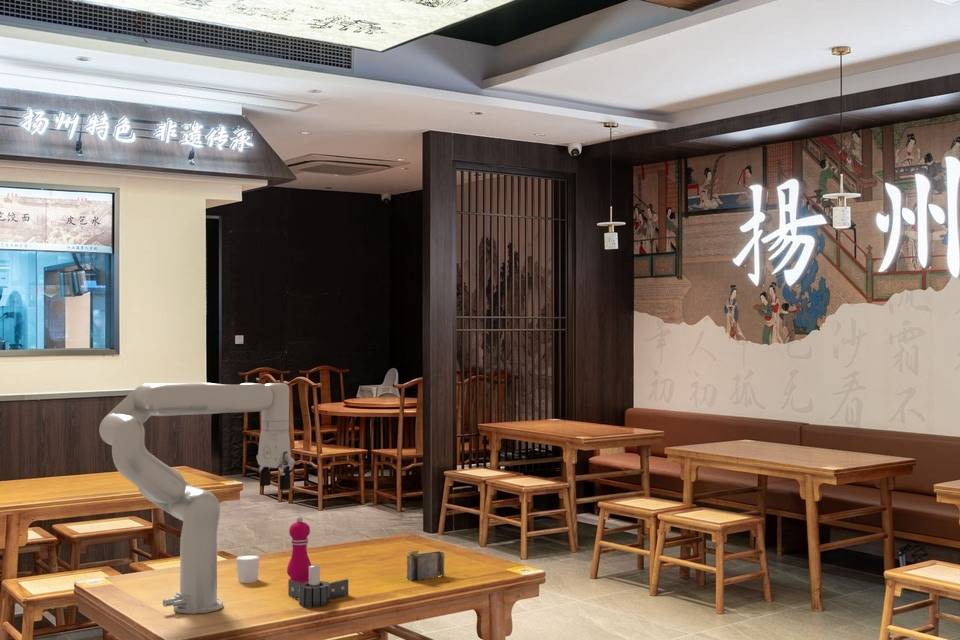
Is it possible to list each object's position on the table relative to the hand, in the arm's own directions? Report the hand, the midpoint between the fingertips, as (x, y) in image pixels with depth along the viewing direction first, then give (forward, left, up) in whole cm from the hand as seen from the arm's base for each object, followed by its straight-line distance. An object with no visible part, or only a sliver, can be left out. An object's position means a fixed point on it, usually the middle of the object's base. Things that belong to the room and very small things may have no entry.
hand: (274, 487), depth 273 cm
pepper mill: (+11, +3, -30) cm, 32 cm away
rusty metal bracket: (+42, -18, -31) cm, 55 cm away
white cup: (+4, +19, -30) cm, 36 cm away
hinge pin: (+2, -15, -30) cm, 34 cm away
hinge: (+6, -12, -30) cm, 33 cm away
